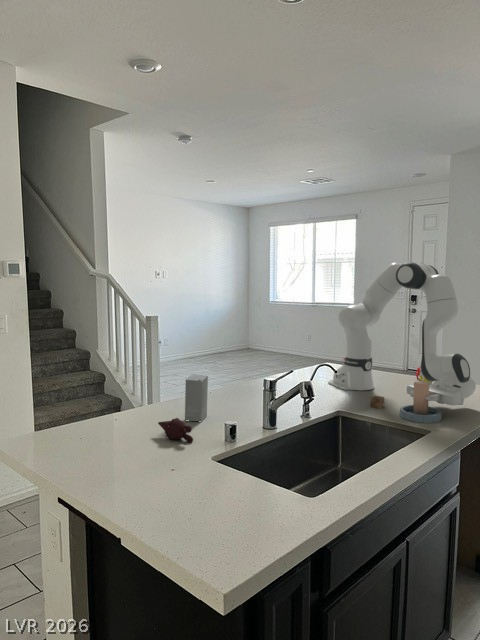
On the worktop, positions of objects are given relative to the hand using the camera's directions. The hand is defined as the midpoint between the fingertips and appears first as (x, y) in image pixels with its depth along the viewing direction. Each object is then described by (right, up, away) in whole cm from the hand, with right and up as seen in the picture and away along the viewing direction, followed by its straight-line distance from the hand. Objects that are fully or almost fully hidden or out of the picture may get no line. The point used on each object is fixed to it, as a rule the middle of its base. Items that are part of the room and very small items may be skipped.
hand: (419, 396), depth 173 cm
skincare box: (-82, -9, 0) cm, 82 cm away
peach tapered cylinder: (+1, -6, +1) cm, 6 cm away
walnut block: (-11, -7, +15) cm, 20 cm away
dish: (+1, -8, +1) cm, 8 cm away
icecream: (-87, -11, -21) cm, 90 cm away
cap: (+27, -2, +65) cm, 70 cm away
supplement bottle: (+23, -3, +52) cm, 56 cm away
